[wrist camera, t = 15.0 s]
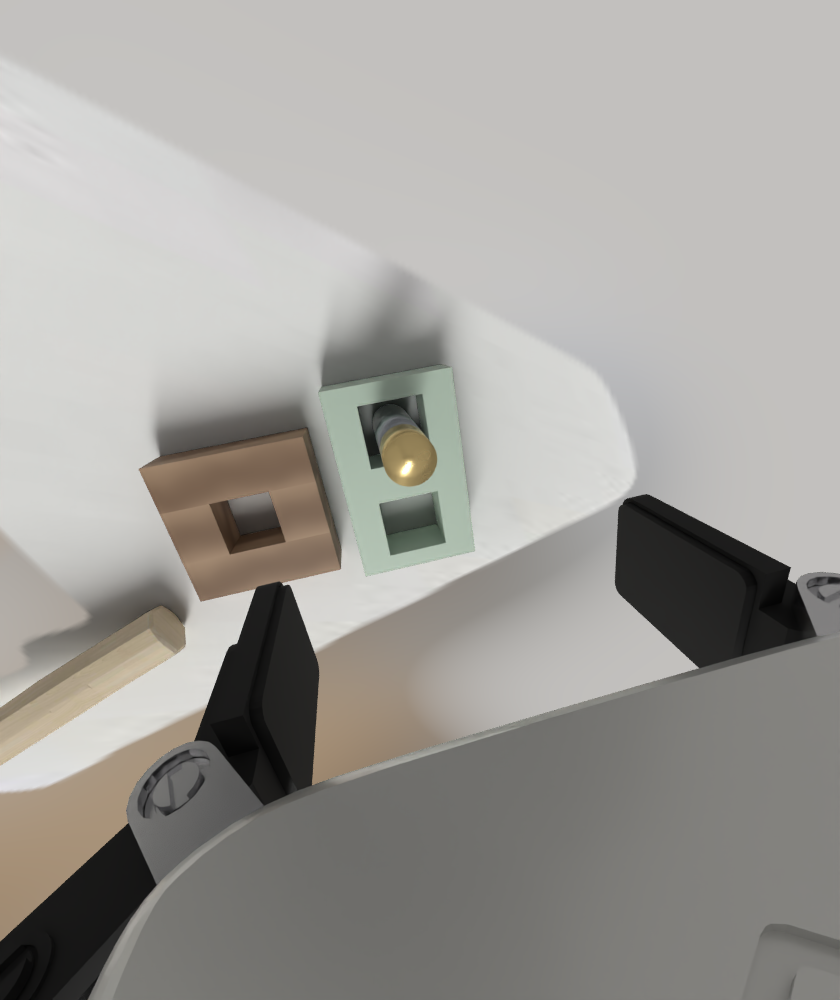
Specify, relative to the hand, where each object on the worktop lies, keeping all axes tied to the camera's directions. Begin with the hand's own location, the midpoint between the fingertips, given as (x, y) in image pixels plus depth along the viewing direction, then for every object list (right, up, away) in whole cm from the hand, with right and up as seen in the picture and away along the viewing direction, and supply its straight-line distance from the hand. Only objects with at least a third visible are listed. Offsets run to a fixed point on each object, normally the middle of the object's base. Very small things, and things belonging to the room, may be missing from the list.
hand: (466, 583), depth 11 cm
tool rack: (-3, +5, +25) cm, 26 cm away
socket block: (-16, +2, +24) cm, 29 cm away
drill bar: (-4, +9, +23) cm, 25 cm away
